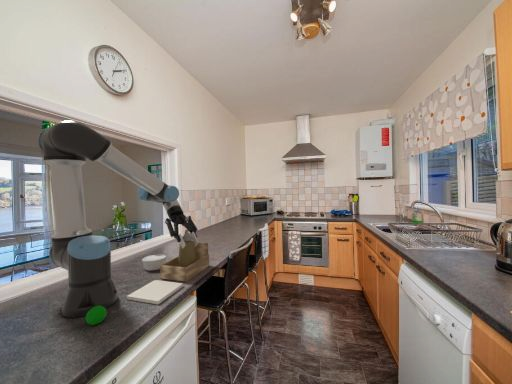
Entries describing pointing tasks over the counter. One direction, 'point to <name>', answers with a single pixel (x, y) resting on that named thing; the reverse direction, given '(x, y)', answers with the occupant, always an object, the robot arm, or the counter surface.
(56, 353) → the counter surface
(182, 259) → the squeeze bottle
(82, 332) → the counter surface
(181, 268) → the wooden box
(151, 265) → the ramekin
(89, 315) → the polyhedron
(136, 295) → the cutting board
